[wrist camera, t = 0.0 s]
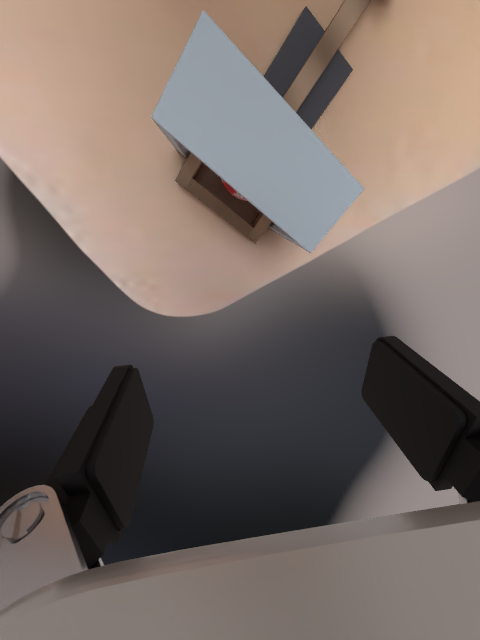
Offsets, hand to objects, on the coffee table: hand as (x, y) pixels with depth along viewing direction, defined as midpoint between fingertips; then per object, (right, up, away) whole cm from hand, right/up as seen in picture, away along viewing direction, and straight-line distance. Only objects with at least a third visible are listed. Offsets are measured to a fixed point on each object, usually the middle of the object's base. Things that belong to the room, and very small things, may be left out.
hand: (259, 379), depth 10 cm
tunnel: (0, +23, +24) cm, 33 cm away
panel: (+7, +32, +20) cm, 38 cm away
